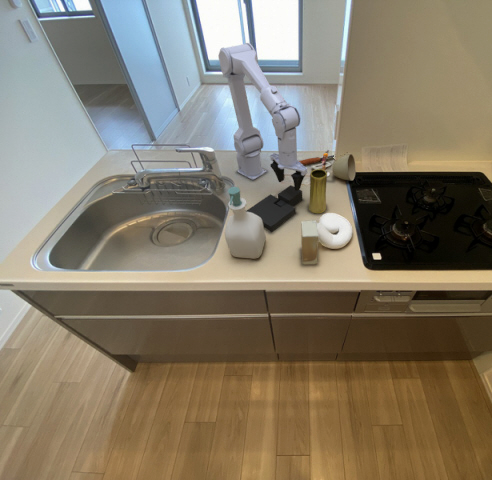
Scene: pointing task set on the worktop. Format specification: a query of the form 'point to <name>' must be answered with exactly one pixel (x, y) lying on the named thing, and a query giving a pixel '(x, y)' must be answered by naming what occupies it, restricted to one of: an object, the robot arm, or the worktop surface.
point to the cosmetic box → (309, 241)
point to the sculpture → (334, 230)
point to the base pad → (272, 212)
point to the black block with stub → (289, 196)
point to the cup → (344, 167)
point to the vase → (318, 191)
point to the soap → (319, 166)
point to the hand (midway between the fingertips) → (289, 185)
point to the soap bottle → (243, 229)
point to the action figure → (325, 162)
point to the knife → (312, 160)
